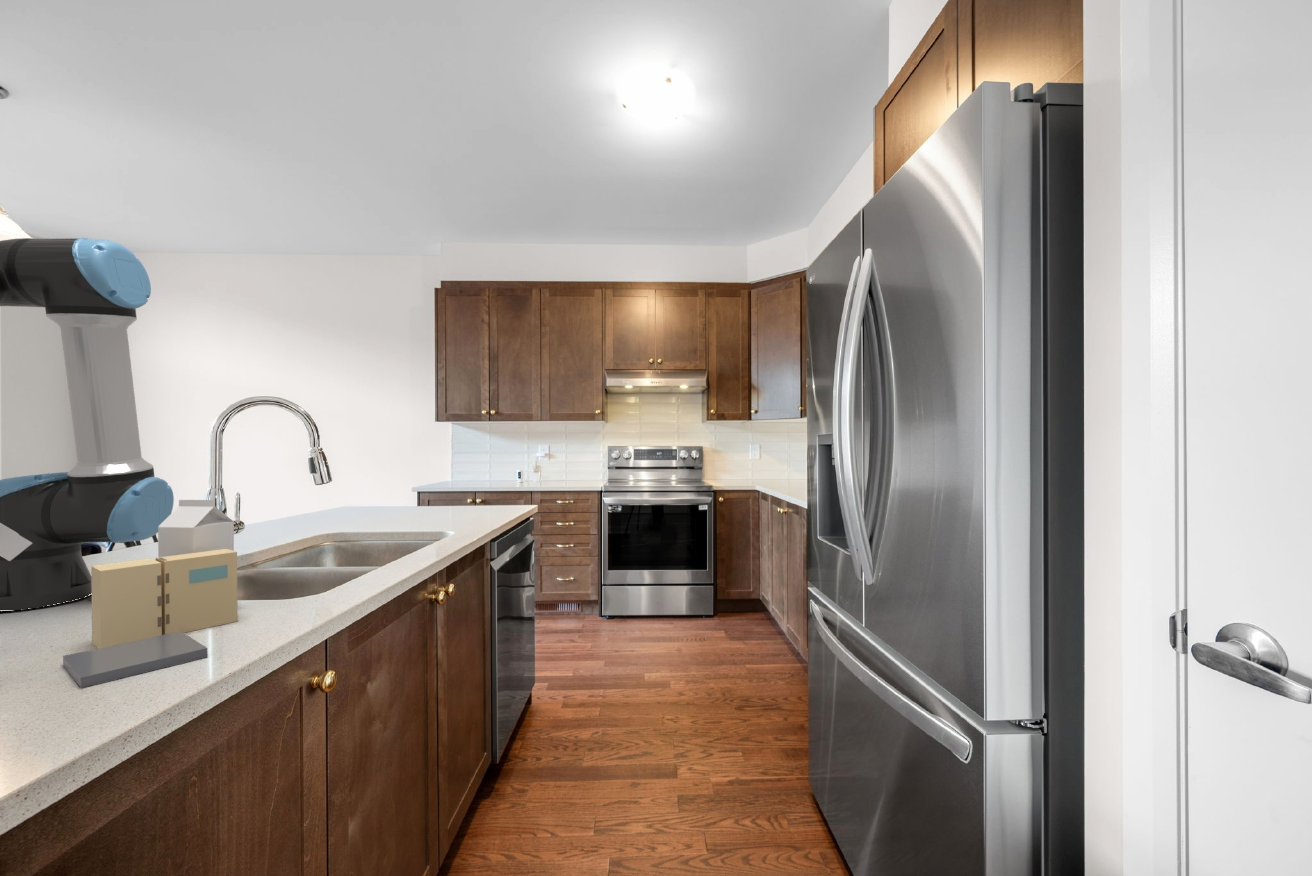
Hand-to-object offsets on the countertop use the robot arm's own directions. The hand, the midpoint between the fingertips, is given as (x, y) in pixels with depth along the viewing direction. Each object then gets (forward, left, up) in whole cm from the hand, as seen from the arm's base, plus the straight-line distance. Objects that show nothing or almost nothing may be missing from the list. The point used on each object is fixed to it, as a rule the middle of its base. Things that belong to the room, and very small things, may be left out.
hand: (14, 546), depth 76 cm
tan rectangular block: (0, +11, -15) cm, 19 cm away
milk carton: (-8, +21, -15) cm, 27 cm away
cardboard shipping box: (0, +19, -15) cm, 24 cm away
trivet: (+12, +10, -15) cm, 22 cm away
